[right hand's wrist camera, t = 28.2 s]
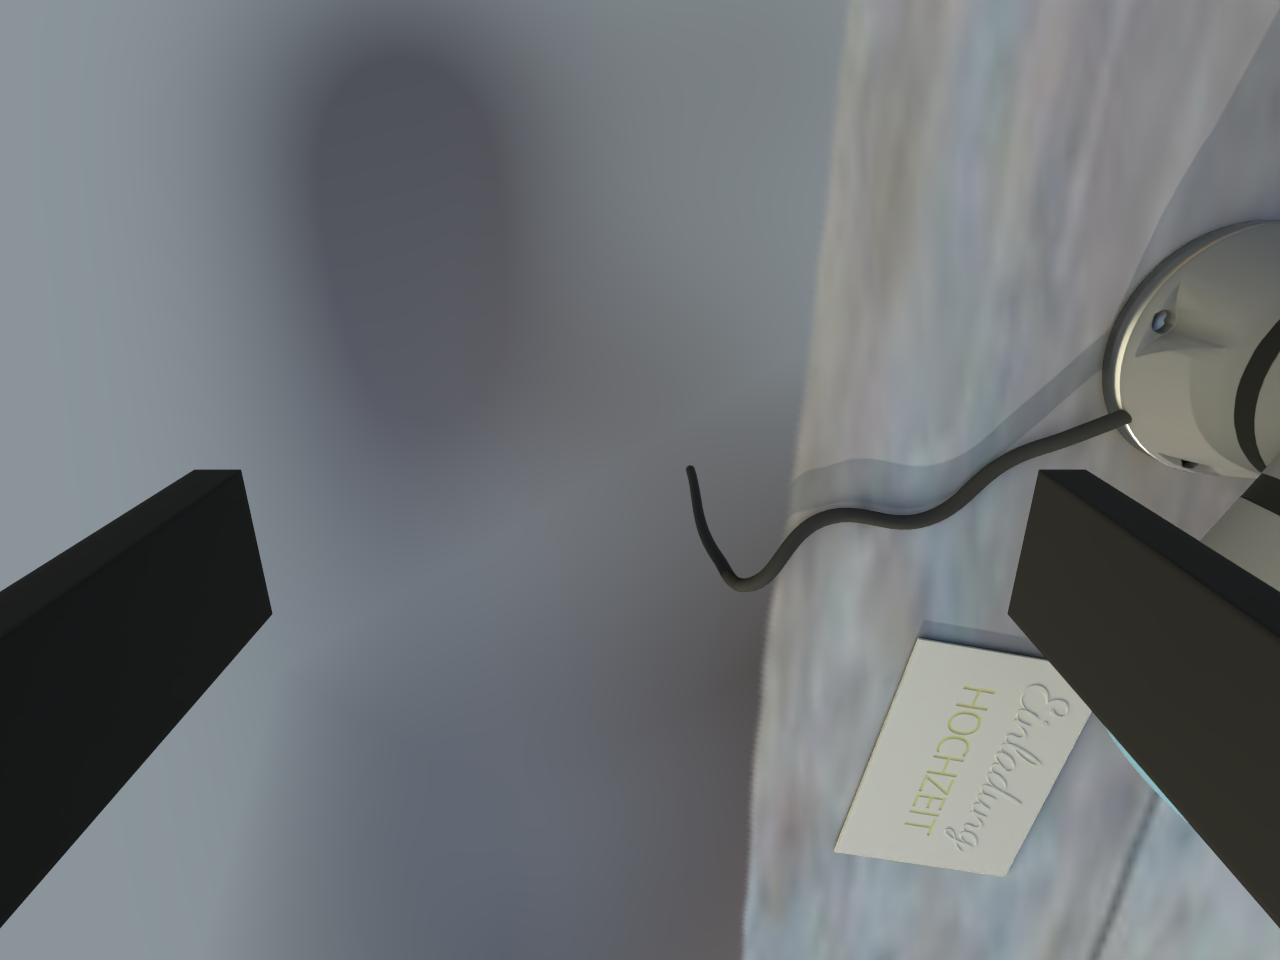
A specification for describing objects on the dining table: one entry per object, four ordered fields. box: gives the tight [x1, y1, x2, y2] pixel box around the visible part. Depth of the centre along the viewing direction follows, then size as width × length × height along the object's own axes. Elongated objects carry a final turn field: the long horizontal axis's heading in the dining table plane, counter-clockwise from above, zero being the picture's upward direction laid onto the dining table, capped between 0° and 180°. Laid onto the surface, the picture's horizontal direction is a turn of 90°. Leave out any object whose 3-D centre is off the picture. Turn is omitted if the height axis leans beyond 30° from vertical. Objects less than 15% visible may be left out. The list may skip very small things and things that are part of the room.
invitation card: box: [834, 638, 1092, 877], centre depth 57 cm, size 21×1×15 cm
